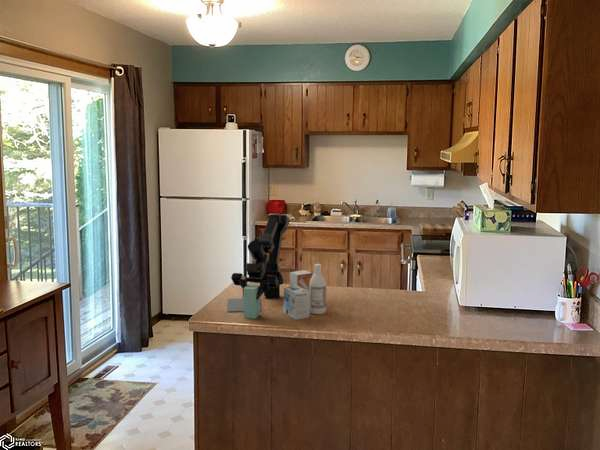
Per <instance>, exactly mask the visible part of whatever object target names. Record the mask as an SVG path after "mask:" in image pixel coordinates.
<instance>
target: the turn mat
mask: <svg viewBox="0 0 600 450" xmlns="http://www.w3.org/2000/svg"><path fill="white" fill-rule="evenodd" d="M260 299H261V298H259V302H260V303H261V300H260ZM226 305H227V306H226V313H244V298H227V303H226ZM260 312H262V308H261V305H260Z"/></svg>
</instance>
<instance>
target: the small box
mask: <svg viewBox="0 0 600 450" xmlns="http://www.w3.org/2000/svg"><path fill="white" fill-rule="evenodd" d="M312 276H313V272H311V271H308V270H305V269H304V270H295V271H290V272H289V287H291V286H299V287H301V288H303V289H305V290H307V291H309V282H310V279H311V277H312Z"/></svg>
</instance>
